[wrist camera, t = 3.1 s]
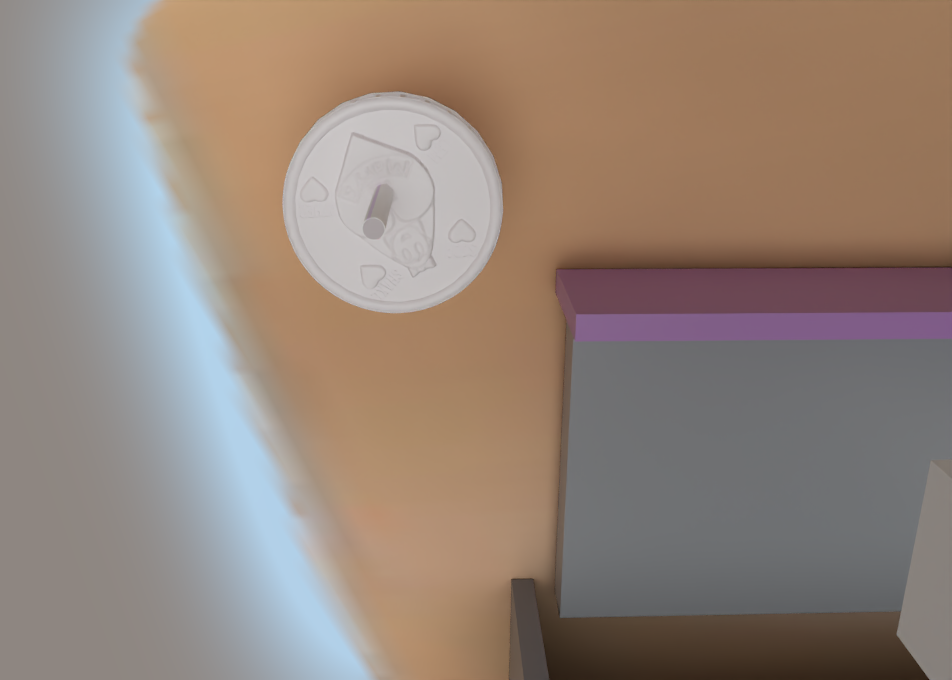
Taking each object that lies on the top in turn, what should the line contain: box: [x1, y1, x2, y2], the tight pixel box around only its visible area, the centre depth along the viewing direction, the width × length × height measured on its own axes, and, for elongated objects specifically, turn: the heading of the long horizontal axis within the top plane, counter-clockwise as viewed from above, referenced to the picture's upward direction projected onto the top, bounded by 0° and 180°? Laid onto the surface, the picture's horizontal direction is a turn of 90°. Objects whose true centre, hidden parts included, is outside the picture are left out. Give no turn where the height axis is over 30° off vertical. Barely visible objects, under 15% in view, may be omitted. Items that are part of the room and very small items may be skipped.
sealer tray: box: [555, 268, 952, 618], centre depth 37 cm, size 16×20×6 cm
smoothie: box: [283, 91, 503, 313], centre depth 28 cm, size 6×6×14 cm
